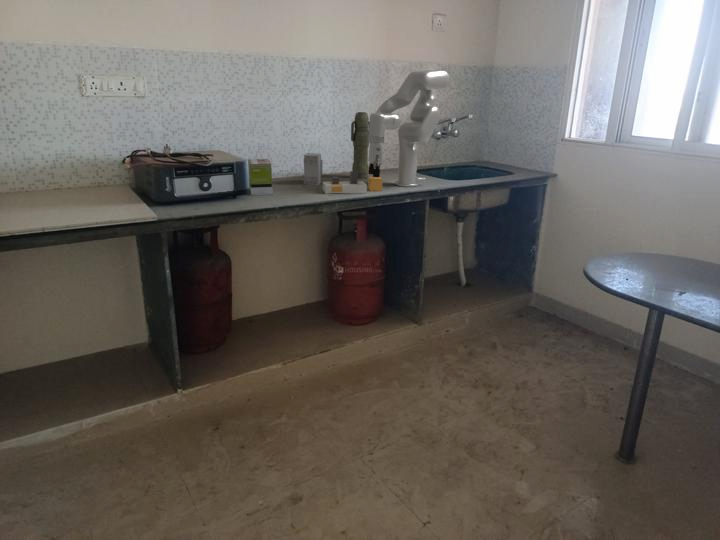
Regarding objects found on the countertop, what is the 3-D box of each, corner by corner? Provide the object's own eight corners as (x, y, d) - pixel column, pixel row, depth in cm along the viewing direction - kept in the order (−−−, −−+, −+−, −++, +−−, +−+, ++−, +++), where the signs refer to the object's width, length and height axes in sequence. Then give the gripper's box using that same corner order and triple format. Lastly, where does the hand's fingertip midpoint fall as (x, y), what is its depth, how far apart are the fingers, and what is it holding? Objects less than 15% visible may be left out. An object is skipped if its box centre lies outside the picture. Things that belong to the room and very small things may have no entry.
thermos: (373, 177, 295) (375, 112, 283) (356, 179, 288) (357, 113, 276) (364, 175, 302) (365, 111, 290) (347, 176, 295) (348, 112, 283)
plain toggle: (355, 185, 258) (356, 171, 255) (357, 186, 255) (357, 172, 252) (349, 185, 257) (350, 171, 255) (351, 186, 254) (351, 172, 252)
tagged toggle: (337, 190, 257) (337, 176, 254) (338, 192, 254) (338, 177, 251) (331, 191, 256) (331, 176, 254) (332, 192, 253) (332, 177, 251)
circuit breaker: (322, 180, 283) (322, 152, 278) (318, 185, 269) (318, 155, 264) (309, 179, 283) (308, 151, 278) (303, 184, 270) (303, 155, 265)
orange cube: (379, 188, 265) (379, 176, 263) (381, 190, 260) (382, 178, 258) (367, 188, 264) (368, 176, 262) (370, 191, 259) (370, 178, 257)
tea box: (249, 189, 255) (247, 158, 250) (270, 188, 258) (269, 158, 253) (251, 195, 242) (249, 163, 237) (273, 195, 244) (272, 162, 239)
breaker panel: (362, 189, 262) (362, 180, 261) (366, 193, 253) (367, 184, 251) (322, 189, 258) (322, 181, 257) (325, 194, 249) (325, 184, 248)
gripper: (388, 141, 246) (385, 178, 251) (379, 138, 262) (377, 173, 268) (372, 141, 245) (370, 178, 250) (364, 138, 261) (362, 172, 266)
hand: (373, 175), depth 259 cm, fingers open, 9 cm apart
